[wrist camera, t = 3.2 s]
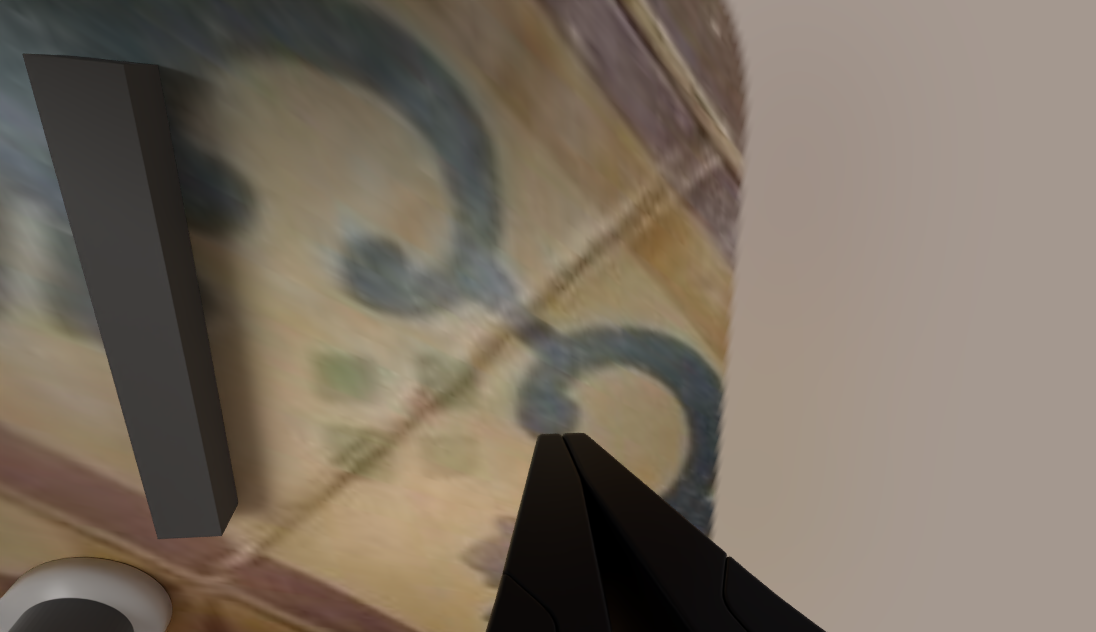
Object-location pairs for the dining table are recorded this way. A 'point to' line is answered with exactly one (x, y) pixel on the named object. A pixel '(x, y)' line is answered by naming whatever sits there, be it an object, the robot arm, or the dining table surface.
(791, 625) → the robot arm
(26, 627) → the cord spool
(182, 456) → the dark grey rectangular bar
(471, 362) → the dining table surface
